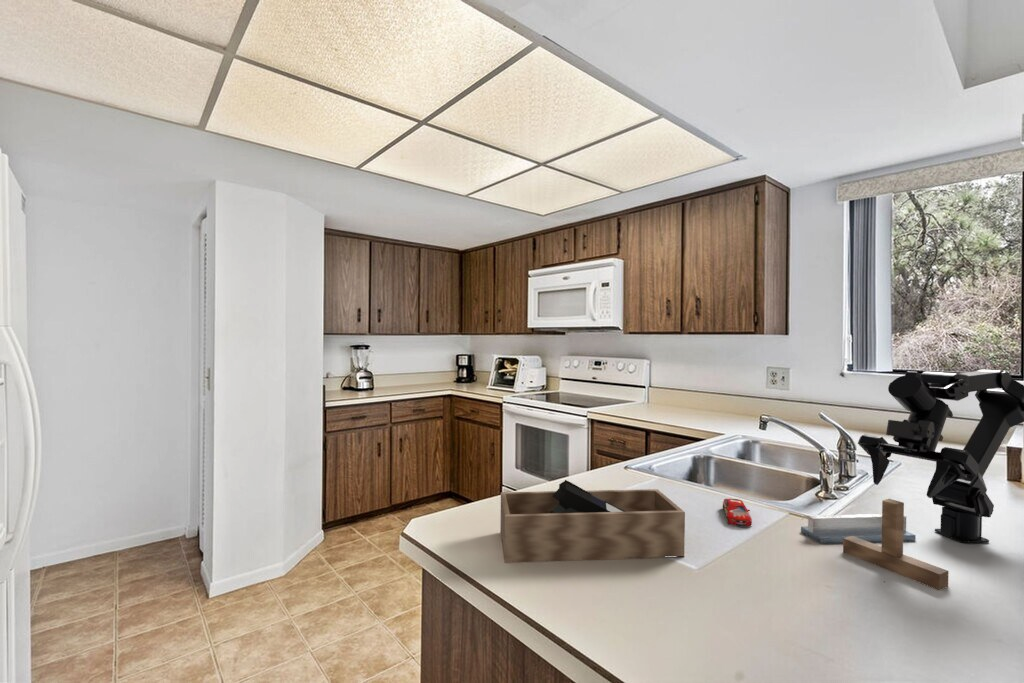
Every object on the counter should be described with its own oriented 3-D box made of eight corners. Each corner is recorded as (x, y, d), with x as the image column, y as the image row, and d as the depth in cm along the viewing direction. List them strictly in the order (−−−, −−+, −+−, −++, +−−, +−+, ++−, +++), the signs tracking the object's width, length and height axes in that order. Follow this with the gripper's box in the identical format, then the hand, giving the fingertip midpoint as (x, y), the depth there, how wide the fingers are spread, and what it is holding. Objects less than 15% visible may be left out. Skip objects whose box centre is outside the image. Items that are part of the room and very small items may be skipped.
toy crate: (657, 528, 109) (657, 489, 108) (684, 556, 95) (684, 512, 95) (500, 532, 106) (500, 492, 105) (504, 562, 92) (505, 516, 92)
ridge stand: (891, 529, 109) (891, 509, 109) (915, 540, 103) (915, 520, 103) (800, 531, 107) (801, 512, 107) (820, 543, 101) (820, 522, 101)
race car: (753, 531, 108) (753, 514, 108) (727, 528, 110) (727, 511, 110) (744, 510, 121) (744, 495, 121) (721, 508, 123) (721, 492, 122)
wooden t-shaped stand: (843, 552, 98) (844, 489, 97) (851, 550, 99) (852, 488, 99) (939, 591, 83) (940, 517, 83) (948, 587, 84) (949, 514, 84)
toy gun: (619, 588, 101) (649, 523, 103) (530, 548, 94) (564, 479, 97) (611, 580, 104) (641, 517, 107) (524, 541, 98) (557, 475, 100)
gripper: (858, 398, 106) (833, 460, 102) (966, 409, 89) (941, 484, 85) (881, 424, 109) (858, 484, 106) (989, 439, 92) (966, 512, 89)
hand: (900, 490), depth 96 cm, fingers open, 9 cm apart
